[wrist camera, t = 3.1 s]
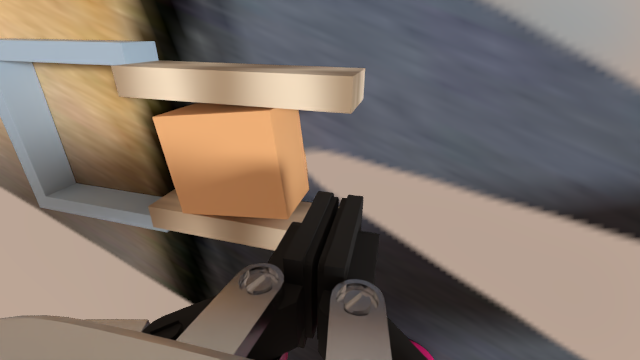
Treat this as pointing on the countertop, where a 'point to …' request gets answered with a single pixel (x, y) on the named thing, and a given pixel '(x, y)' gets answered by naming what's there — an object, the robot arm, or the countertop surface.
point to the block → (235, 159)
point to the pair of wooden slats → (246, 90)
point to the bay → (41, 134)
